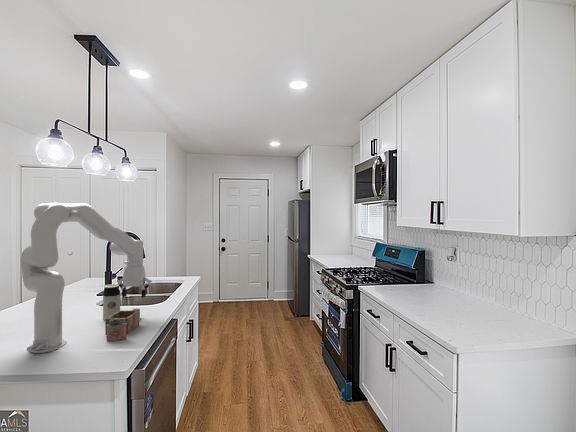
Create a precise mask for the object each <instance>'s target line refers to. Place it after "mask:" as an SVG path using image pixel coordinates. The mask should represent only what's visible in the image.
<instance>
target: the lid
mask: <svg viewBox="0 0 576 432" xmlns="http://www.w3.org/2000/svg"><path fill="white" fill-rule="evenodd" d="M130 311H139V319H140V318H141V309H140V308H133V309H131V310H130Z"/></svg>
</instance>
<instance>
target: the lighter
mask: <svg viewBox="0 0 576 432" xmlns="http://www.w3.org/2000/svg"><path fill="white" fill-rule="evenodd" d="M119 322H120V323H119ZM122 322H125V318H121V319H117V318H115V319H113V320H109V323H110V324H108V325H106V328H107V335H106V341H105V342H108V343H109V342H110V343H111V342H121V341H126V340H127V339H128V338H127V335H126V326H127V323H122ZM112 323H113V324H112Z"/></svg>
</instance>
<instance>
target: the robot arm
mask: <svg viewBox="0 0 576 432" xmlns="http://www.w3.org/2000/svg"><path fill="white" fill-rule="evenodd" d="M33 216H34V217H35V220H34V222H33V224H32V225H31V229H30V230H31V231H30V244H31V245H28V246H27V247H25V248H24V250H23V251H22V253H21V256H20V266H21V274H22V281H23V285H24V287H25V288H26V290H28V291H30V292H33V293H36V296H35V299H34V304H33V305H34V306H33V314H34V315H33V316H34V317H33V325H34V326H33V327H34V329H33V330H34V331H33V333H34V334H33V340H32V344H31V345H30V346H28V347H26V351H27V352H29V353H32V354H44V353H45V354H46V353H50V352H54V351H55V352H56V351H58V350H59V348H62V347H65V345H67V340H65V339H63V295H64V289H65V279H64V277H63V275H62V274H61V273H59V272H57V271H53V270H49V269H50V268H52V267H55V266H56V265H57V264H58V262H59V251H58V250H59V249H58V241H57V234H58V229H59V227H60V226H61V225H62V224H63V223H71V222H74V223H75V222H76V223H79V224H80V225H81V226H82V227H84V228H85V229H86V230H87V231H88V232H89V233H90V234H91V235H93V236H95V238H98V239H100V240H104V241H106V242H109V243H110V245H109V250H110V252H111V253H112V254H113V255H117V256H126V261H124V263H123V264H124V265H126V266H125V267H124V271H123V275H122V278H120V279H117V281H116V282H117V283H116V284H118V285H119V289H121V296H122V298H125V297H127V290H128V289H127V287H140V288H141V298H142V299H143V298H145V297H146V296H147V289H148V288H149V287H150V286H151V284H152V280H150V279H149V278H147V277H146V271H145V266H144V265H143V264H144V241H143V240H142V239H133V238H132V237H131V236H130V235H129V234H128V233H126V232H125V231H123V230H122V229H120V228H118V227H116V226H115V225H113V224H111V223H110V222H109V221H107V220H106V218H104V217H103V215H101V214H100V213H99V212H98V211H96V210H95V209H94V208H93V207H92V206H91V205H90V204H88V203H84V202H83V203H82V202H81V203H80V202H79V203H76V202H73V203H62V202H49V203H47V202H46V203H40V204H39V205H37V206H36V207H35V209H34V211H33ZM146 283H147V284H146Z"/></svg>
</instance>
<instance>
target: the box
mask: <svg viewBox="0 0 576 432" xmlns="http://www.w3.org/2000/svg"><path fill="white" fill-rule="evenodd" d="M115 318H117V319H121V318H125V322H122V323H127V326H126V336H127V335H130V334H131V333H132V332H133V331H134V330H136V328H138V327H139V326H140V318H139V311H131V310H120V311H117V312H116V313H114V314H112V315H111V316H109V317H108V318H106V319H105V320H104V322H105V326H104V327H105V329H104V330H105V334H104V335H106V336H107V328H106V325H108V324H110V323H109V320H113V319H115ZM119 323H120V322H119ZM112 324H113V323H112Z"/></svg>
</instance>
